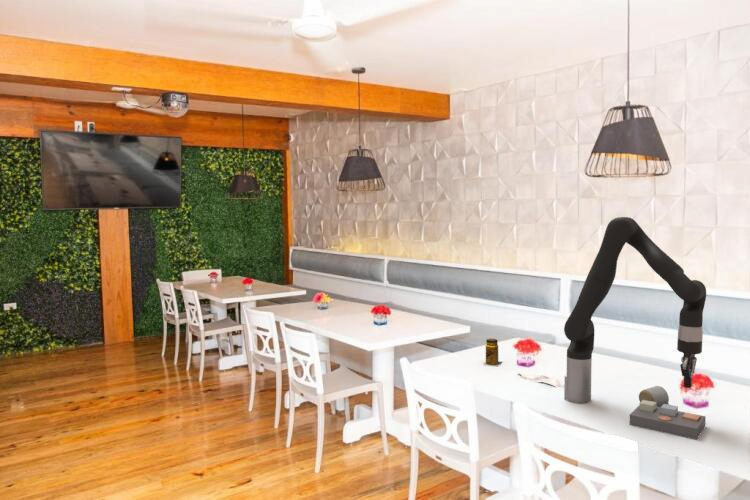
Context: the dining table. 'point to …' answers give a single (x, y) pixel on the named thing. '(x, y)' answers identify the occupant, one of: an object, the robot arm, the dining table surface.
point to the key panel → (667, 423)
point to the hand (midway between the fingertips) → (687, 387)
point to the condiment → (492, 353)
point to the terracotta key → (691, 417)
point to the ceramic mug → (655, 395)
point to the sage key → (647, 406)
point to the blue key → (669, 410)
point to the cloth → (542, 379)
